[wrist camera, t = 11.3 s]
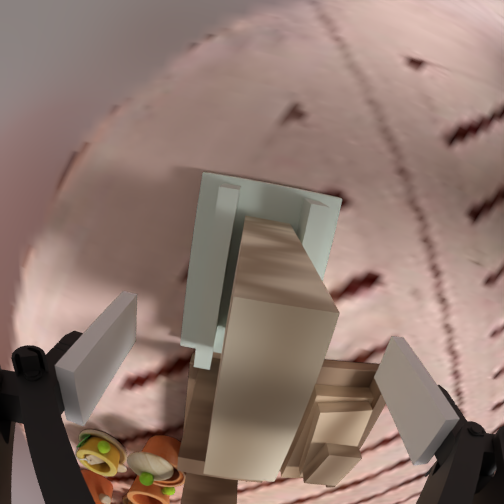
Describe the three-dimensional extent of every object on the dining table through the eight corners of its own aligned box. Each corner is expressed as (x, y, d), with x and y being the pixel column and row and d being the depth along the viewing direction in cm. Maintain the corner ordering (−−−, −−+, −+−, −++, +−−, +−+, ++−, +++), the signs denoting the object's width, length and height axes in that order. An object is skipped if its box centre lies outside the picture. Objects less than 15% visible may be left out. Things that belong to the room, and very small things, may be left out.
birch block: (289, 223, 23) (339, 312, 9) (265, 334, 25) (274, 481, 12) (245, 215, 23) (233, 296, 9) (225, 327, 25) (203, 473, 12)
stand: (338, 197, 23) (355, 205, 19) (296, 356, 27) (303, 387, 23) (205, 171, 23) (194, 174, 19) (182, 338, 27) (172, 367, 23)
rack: (381, 364, 28) (431, 457, 16) (329, 465, 32) (346, 546, 20) (195, 340, 27) (164, 448, 15) (184, 451, 31) (166, 538, 19)
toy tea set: (161, 517, 38) (152, 562, 28) (74, 482, 36) (55, 524, 27) (211, 440, 31) (202, 510, 22) (80, 386, 29) (42, 445, 20)
